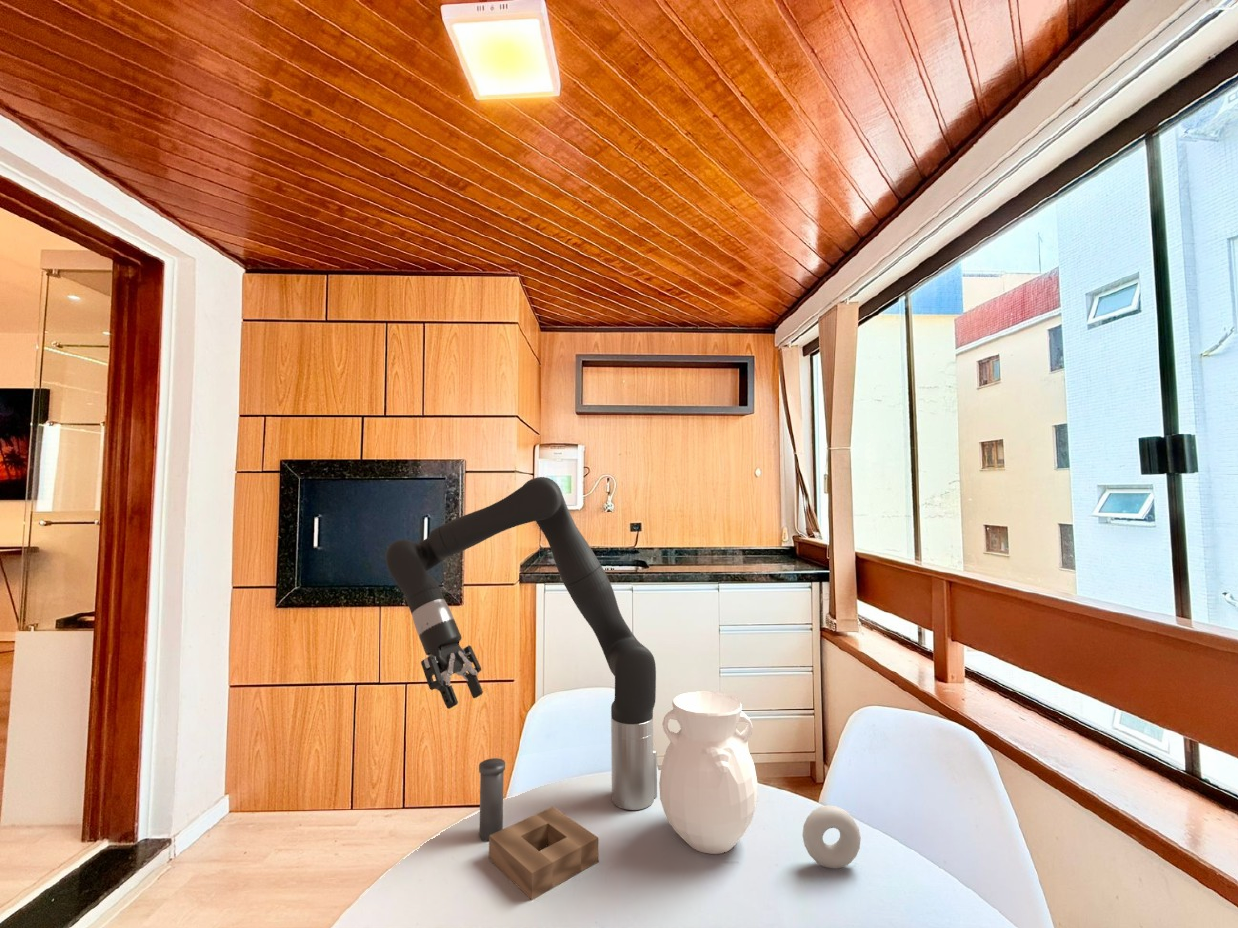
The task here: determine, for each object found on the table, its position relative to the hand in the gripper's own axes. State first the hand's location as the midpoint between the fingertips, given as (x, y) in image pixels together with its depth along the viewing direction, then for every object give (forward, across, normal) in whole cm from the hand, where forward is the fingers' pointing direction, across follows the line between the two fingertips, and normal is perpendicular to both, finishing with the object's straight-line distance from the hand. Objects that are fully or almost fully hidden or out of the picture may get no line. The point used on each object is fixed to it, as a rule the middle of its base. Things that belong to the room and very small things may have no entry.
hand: (466, 701), depth 105 cm
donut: (+56, +13, -45) cm, 73 cm away
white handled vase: (+44, +15, -26) cm, 54 cm away
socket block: (+31, 0, -3) cm, 31 cm away
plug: (+24, +3, +8) cm, 25 cm away
